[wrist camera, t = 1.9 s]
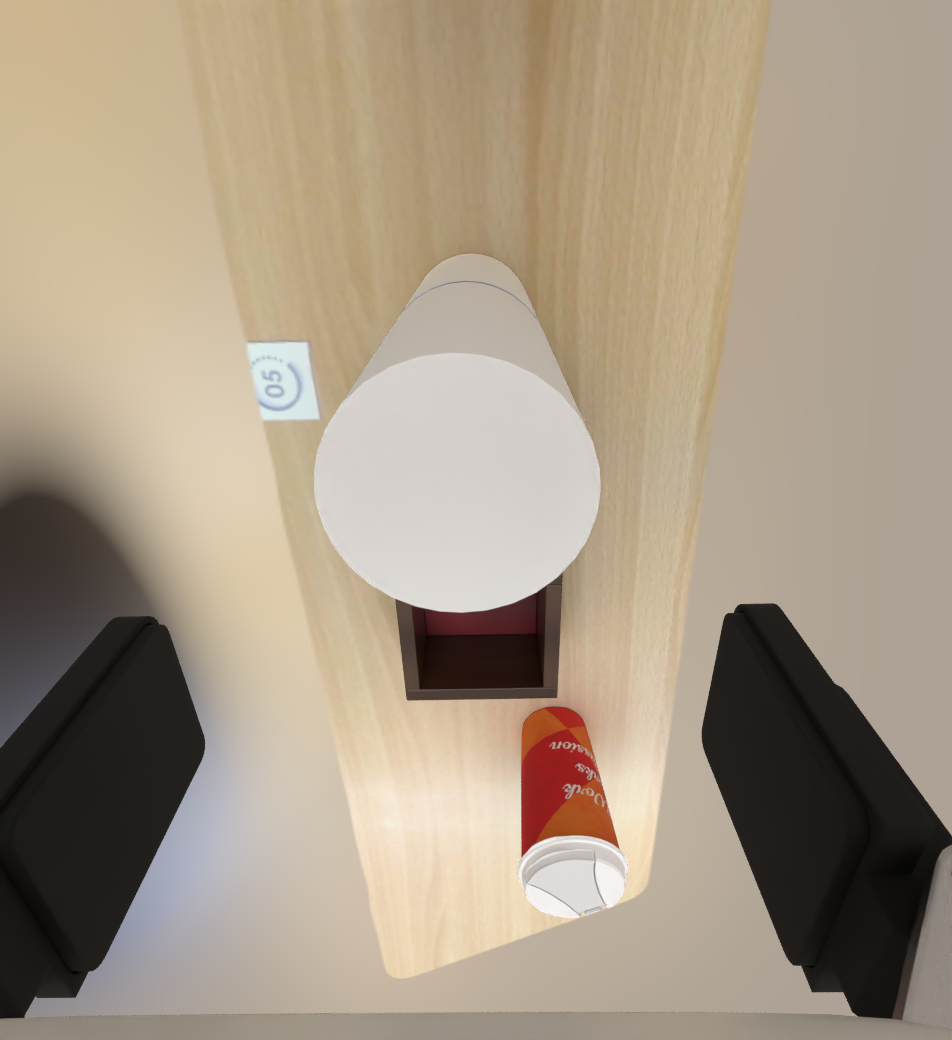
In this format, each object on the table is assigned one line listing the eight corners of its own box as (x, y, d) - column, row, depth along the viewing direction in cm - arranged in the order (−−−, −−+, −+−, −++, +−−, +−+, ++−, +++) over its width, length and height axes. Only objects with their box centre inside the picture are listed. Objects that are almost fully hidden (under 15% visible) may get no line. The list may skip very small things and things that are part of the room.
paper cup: (612, 741, 54) (650, 902, 42) (535, 771, 56) (549, 933, 44) (573, 683, 51) (602, 839, 39) (493, 716, 53) (496, 875, 41)
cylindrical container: (541, 264, 36) (635, 379, 14) (518, 383, 39) (564, 627, 17) (419, 243, 36) (318, 328, 13) (406, 365, 39) (309, 594, 17)
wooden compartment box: (392, 391, 40) (376, 428, 33) (555, 387, 39) (569, 423, 33) (416, 636, 49) (406, 701, 43) (547, 634, 49) (557, 698, 43)
